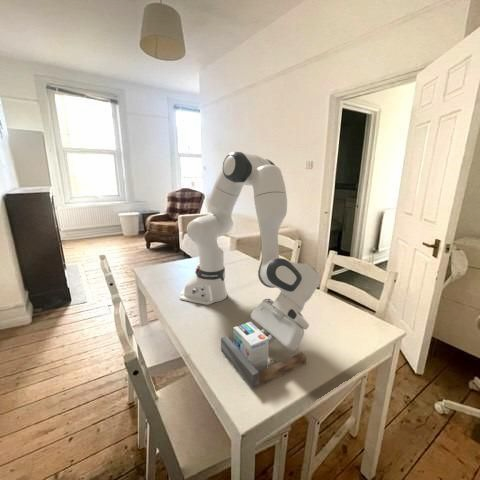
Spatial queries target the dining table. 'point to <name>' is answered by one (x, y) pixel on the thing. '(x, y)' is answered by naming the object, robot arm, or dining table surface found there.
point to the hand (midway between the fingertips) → (260, 345)
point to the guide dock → (250, 372)
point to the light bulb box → (252, 344)
